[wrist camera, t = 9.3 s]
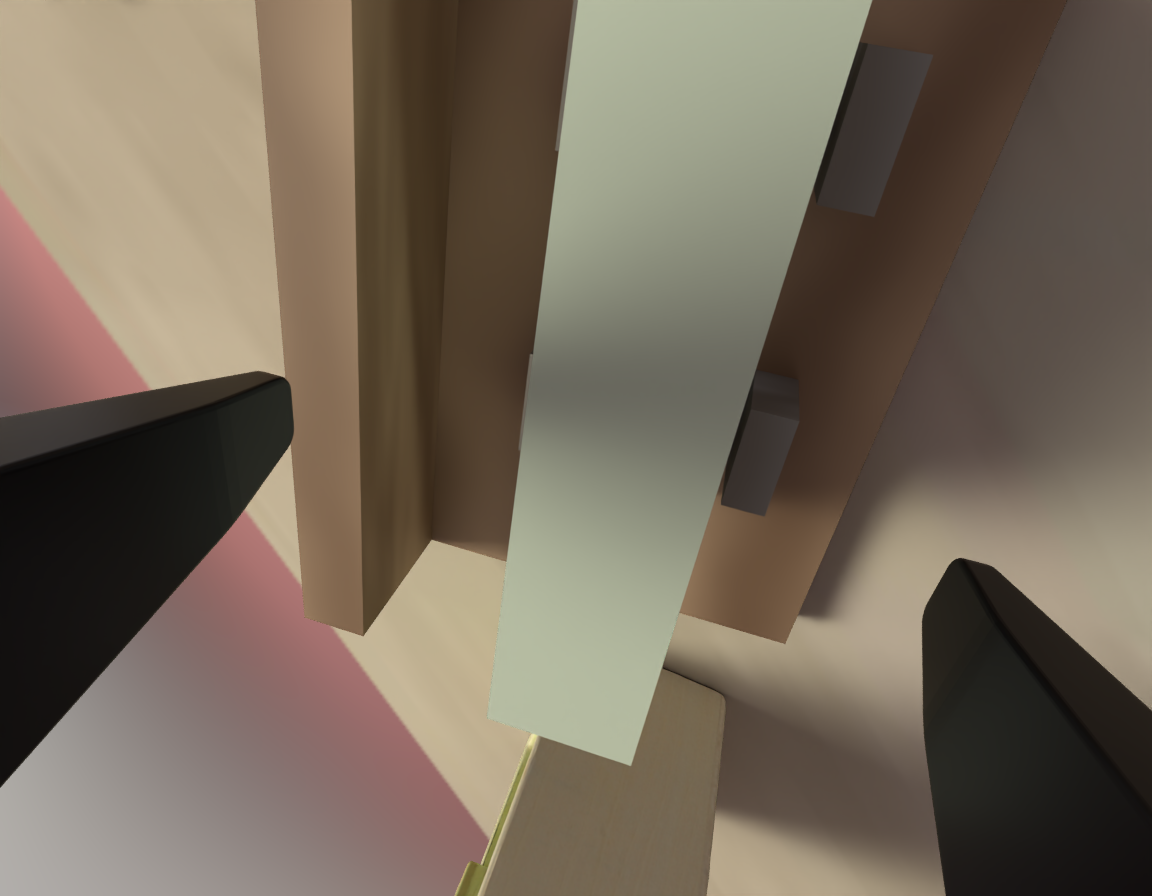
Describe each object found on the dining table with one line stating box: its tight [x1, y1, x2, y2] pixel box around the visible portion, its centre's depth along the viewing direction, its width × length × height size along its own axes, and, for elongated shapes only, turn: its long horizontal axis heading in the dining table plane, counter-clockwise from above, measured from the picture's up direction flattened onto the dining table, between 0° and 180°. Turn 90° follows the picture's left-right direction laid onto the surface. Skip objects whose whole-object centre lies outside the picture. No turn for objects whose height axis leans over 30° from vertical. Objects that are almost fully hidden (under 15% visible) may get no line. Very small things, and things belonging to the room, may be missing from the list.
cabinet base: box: [255, 0, 1067, 644], centre depth 18 cm, size 16×24×6 cm, turn 172°
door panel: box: [487, 0, 872, 766], centre depth 15 cm, size 3×14×10 cm, turn 172°
